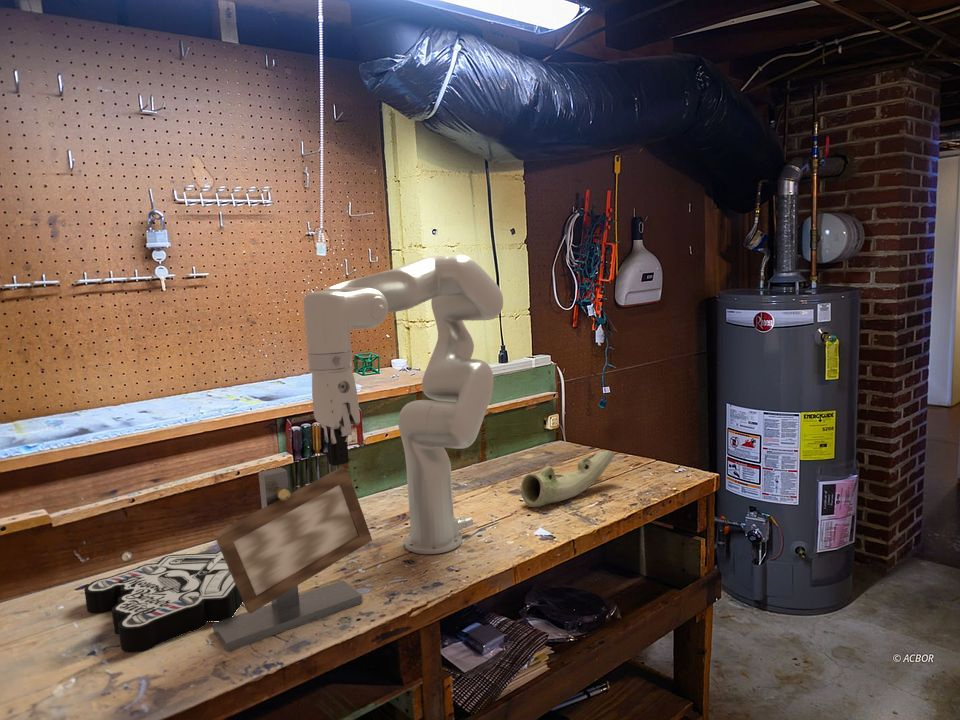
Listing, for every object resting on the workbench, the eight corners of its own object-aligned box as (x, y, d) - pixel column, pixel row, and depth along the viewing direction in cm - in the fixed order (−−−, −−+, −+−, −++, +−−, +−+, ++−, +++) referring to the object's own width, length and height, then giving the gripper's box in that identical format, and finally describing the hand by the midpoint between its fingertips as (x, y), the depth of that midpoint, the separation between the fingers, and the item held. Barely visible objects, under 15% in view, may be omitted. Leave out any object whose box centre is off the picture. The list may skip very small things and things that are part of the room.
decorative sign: (78, 584, 129) (232, 534, 149) (81, 606, 129) (234, 554, 150) (127, 636, 109) (297, 570, 129) (131, 662, 109) (299, 592, 130)
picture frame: (367, 537, 128) (342, 466, 124) (372, 540, 126) (346, 469, 122) (246, 609, 115) (213, 534, 111) (250, 614, 114) (217, 537, 110)
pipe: (541, 514, 163) (540, 474, 161) (517, 506, 169) (516, 467, 168) (617, 485, 180) (616, 449, 179) (593, 479, 187) (592, 443, 185)
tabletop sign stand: (343, 587, 130) (332, 455, 127) (362, 602, 124) (351, 464, 120) (213, 631, 117) (197, 484, 113) (227, 651, 110) (210, 496, 107)
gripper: (369, 363, 116) (376, 467, 118) (332, 356, 128) (340, 451, 130) (327, 368, 111) (336, 477, 114) (294, 361, 124) (302, 459, 126)
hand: (338, 463), depth 122 cm, fingers closed
